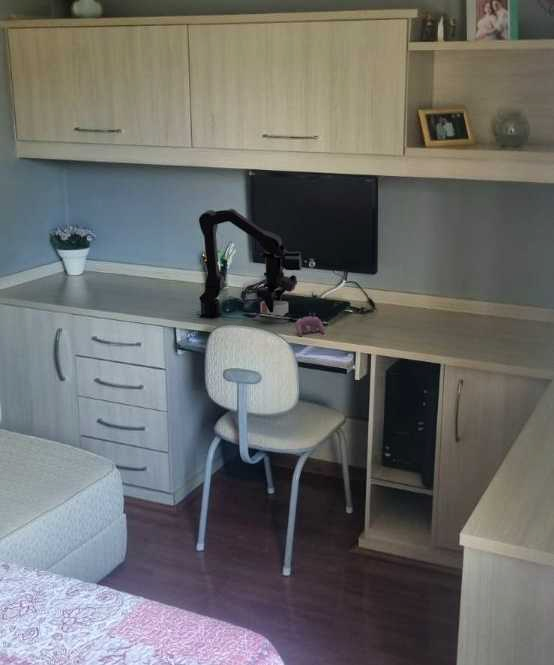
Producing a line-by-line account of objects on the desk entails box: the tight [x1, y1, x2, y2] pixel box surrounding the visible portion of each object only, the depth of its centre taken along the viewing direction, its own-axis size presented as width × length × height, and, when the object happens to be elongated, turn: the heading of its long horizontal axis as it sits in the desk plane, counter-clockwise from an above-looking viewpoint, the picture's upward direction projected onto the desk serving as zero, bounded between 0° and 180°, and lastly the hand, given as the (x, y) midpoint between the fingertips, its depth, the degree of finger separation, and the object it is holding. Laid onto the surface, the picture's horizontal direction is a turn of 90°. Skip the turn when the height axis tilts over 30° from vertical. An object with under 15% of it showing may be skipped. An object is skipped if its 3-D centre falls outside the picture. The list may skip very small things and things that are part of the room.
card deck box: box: [260, 300, 289, 316], centre depth 328 cm, size 5×9×4 cm, turn 66°
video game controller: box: [294, 315, 325, 337], centre depth 311 cm, size 10×5×7 cm, turn 108°
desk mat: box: [252, 315, 290, 325], centre depth 329 cm, size 13×11×1 cm
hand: (274, 310), depth 328 cm, fingers closed on card deck box, 5 cm apart
